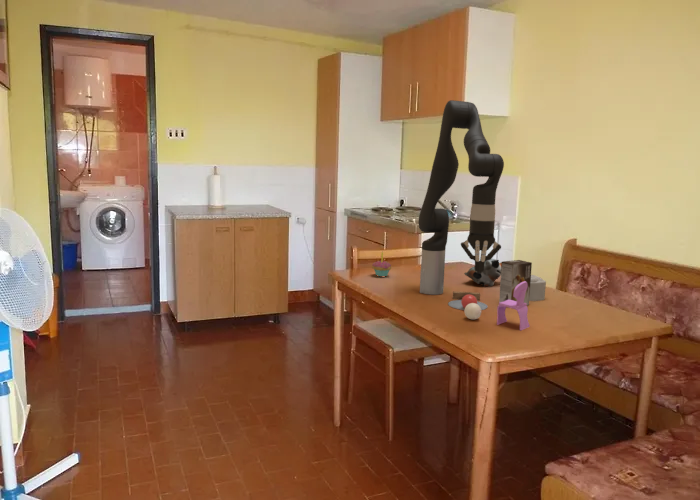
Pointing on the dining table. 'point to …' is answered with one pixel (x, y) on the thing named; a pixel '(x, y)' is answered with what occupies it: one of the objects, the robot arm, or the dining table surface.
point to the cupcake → (381, 267)
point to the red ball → (468, 300)
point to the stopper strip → (461, 294)
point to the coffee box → (514, 279)
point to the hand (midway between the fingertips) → (479, 272)
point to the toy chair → (515, 306)
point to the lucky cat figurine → (486, 273)
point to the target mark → (458, 305)
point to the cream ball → (472, 311)
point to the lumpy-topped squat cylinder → (537, 288)
